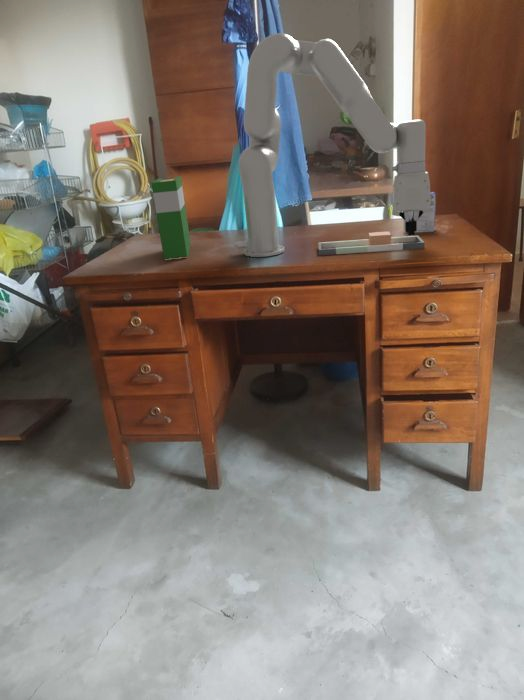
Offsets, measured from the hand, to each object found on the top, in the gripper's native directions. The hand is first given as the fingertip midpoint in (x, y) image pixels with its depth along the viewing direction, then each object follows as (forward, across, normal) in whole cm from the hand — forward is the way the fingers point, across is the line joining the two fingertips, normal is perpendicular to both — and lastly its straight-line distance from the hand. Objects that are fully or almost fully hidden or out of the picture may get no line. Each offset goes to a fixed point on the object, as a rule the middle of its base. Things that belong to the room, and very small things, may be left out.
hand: (410, 234), depth 151 cm
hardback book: (+3, -74, +13) cm, 75 cm away
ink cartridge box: (+4, +6, +21) cm, 22 cm away
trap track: (+3, -12, 0) cm, 12 cm away
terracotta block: (+3, -9, 0) cm, 9 cm away
